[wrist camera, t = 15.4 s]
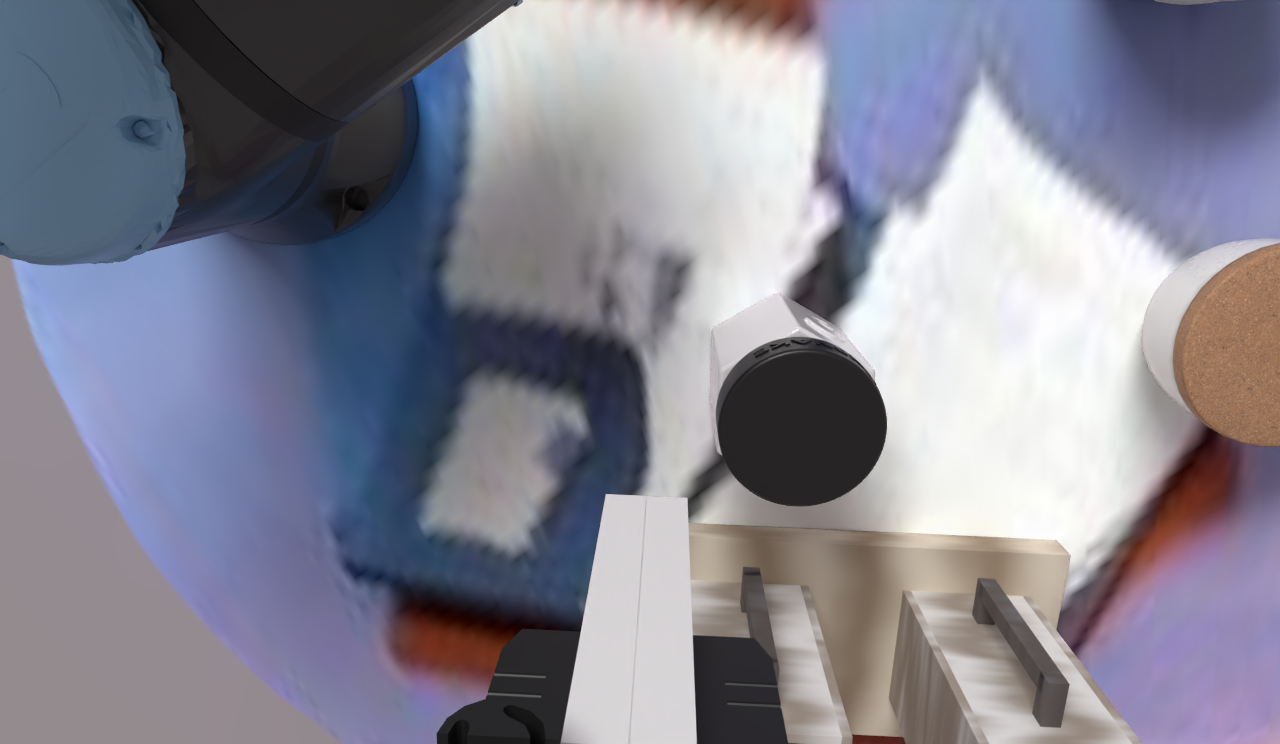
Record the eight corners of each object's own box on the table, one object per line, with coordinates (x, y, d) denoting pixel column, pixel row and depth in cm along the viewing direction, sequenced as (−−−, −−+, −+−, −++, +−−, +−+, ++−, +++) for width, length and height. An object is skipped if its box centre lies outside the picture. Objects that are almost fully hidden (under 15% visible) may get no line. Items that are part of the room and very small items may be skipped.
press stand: (646, 704, 59) (636, 905, 44) (653, 521, 56) (645, 672, 40) (1022, 723, 59) (1146, 935, 43) (1056, 540, 55) (1206, 701, 39)
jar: (873, 343, 52) (930, 405, 40) (799, 451, 54) (834, 540, 42) (747, 269, 51) (769, 311, 39) (677, 382, 53) (679, 453, 41)
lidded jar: (1073, 302, 51) (1161, 340, 42) (1239, 186, 48) (1369, 200, 39) (1166, 435, 53) (1268, 499, 44) (1329, 329, 50) (1471, 374, 41)
